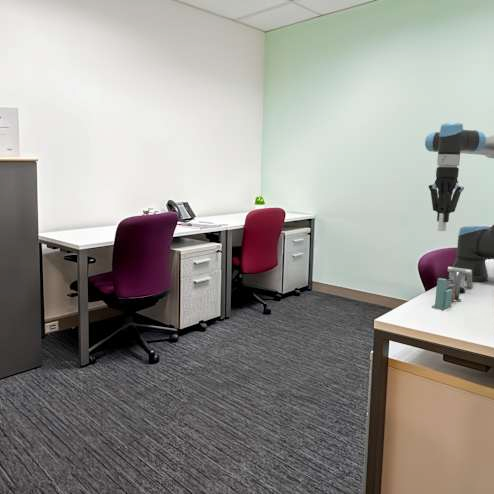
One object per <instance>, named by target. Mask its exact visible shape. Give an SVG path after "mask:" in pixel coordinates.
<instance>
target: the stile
mask: <svg viewBox="0 0 494 494" xmlns="http://www.w3.org/2000/svg"><path fill="white" fill-rule="evenodd" d="M447 280H448V279H447V278H441V277H439V278H437V281H436V290H435V291H436V292H435V300H434V305H431V308H432V309H437V310H441V311H445V310H447V309H448V308H450V307H452V301H451V300H452V291H453V290H452V289H448V290H446V285H447Z"/></svg>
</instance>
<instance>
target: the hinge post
mask: <svg viewBox="0 0 494 494" xmlns="http://www.w3.org/2000/svg"><path fill="white" fill-rule="evenodd" d="M461 274H462V272H459V271H454V280H453V284H457V287H456V290H455V299H454V300H453V301H452V303H453V302H454V303H461V301H462V300H461V299H460V293H459V292H460V283H461Z"/></svg>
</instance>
